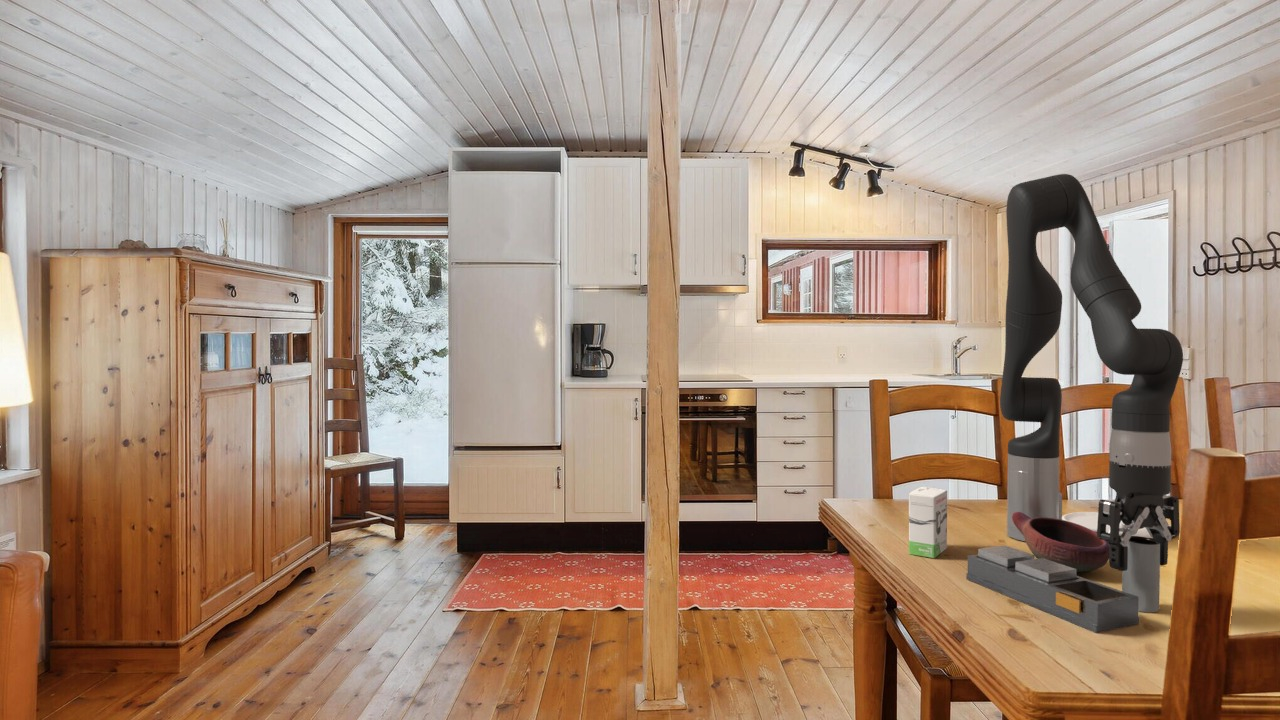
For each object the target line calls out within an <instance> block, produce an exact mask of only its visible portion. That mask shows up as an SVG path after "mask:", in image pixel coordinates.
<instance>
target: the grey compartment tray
mask: <svg viewBox="0 0 1280 720" xmlns="http://www.w3.org/2000/svg"><path fill="white" fill-rule="evenodd" d="M977 550H978V552H977V553H976V554H971V555H967V572H966V575H965V576H966V580H968V581H970V582H972V583H975V584H977V585H979V586H982V587H985V588H986V589H989V590H991V591H993V592H996V593H999V594H1002V595H1003V596H1006V597H1008V598H1010V599H1014V600H1015V601H1018V602H1021V603H1022V604H1025V603H1026V604H1025V605H1027V604H1028V606H1029V607H1033V608H1034V609H1037V610H1040V611H1042V612H1045V613H1046V614H1050V615H1052V616H1054V617H1057V618H1059V619H1061V620H1064V621H1066V622H1069V623H1071V624H1074V625H1076V626H1079V627H1080V628H1083V629H1085V630H1089V631H1090V632H1092V633H1095V634H1098V633H1102V632H1103V633H1104V632H1107V631H1113V630H1117V629H1122V628H1128V627H1133V626H1138V625H1140V616H1139V611H1138V596H1135V595H1132V594H1129V593H1126V592H1123V591H1122V590H1120V589H1117V588H1114V587H1110V586H1108V585H1105V584H1101V583H1099V582H1096V581H1094V580H1091V579H1088V578H1084V577H1083V576H1082V577H1081V576H1079V575H1077V572H1076V571H1077V569H1074V568H1071V567H1068V566H1065V565H1062V564H1059V563H1056V562H1053V561H1050V560H1047V559H1044V558H1039V559H1038V558H1035V556H1034V554H1033V553H1028V552H1025V551H1023V550H1019V549H1017V548H1014V547H1010V546H1007V545H1005V544H1004V545H997V546H990V547H982V548H978V549H977Z"/></svg>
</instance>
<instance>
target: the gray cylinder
mask: <svg viewBox="0 0 1280 720" xmlns="http://www.w3.org/2000/svg"><path fill="white" fill-rule="evenodd" d="M1126 546H1127V547H1128V568H1127V570H1126V571H1121V572H1122V575H1121V576H1122V577H1121V579H1122V581H1121V582H1122V583H1121V584H1122V585H1121V591H1123V592H1126V593H1129V594H1132V595H1135V596H1138V612H1141V613H1157V612H1159V611H1160V593H1161V591H1160V589H1161V588H1160V579H1161V578H1160V577H1161V565H1160V542H1159V541H1157V540H1154V539H1151V538H1146V537H1140V536H1131V537H1130V539H1129V541H1128V543H1127V545H1126Z"/></svg>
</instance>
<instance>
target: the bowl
mask: <svg viewBox="0 0 1280 720" xmlns="http://www.w3.org/2000/svg"><path fill="white" fill-rule="evenodd" d="M1012 520H1013V523H1014V524H1015V526H1016V527H1017V528H1018V529H1019V531H1020V532H1021V533H1022V534H1023V536H1024V538H1025V541H1024V542H1025V543H1026V545H1027V547H1028V549H1029V550H1030V552H1031V554H1032V555H1034V558H1035V557H1036V559H1039V558H1044V559H1047V560H1050V561H1053V562H1056V563H1059V564H1062V565H1065V566H1068V567H1071V568H1074V569H1077V571H1076V573H1083V572H1091V571H1095V570H1098V569H1100V568H1103V567H1104V566H1105V565H1106V564H1107V563H1108V562H1109V543H1108V542H1107V541H1104V540H1101V539H1098V538H1097V533H1096V532H1094V531H1092V530H1090V529H1088V528H1086V527H1084V526H1081V525H1079V524H1075V523H1072V522H1069V521H1065V520H1061V519H1056V518H1047V517H1037V518H1032V519H1031V518H1030V517H1028V516H1027V515H1025V514H1024V513H1021V512H1015V513H1013V515H1012Z"/></svg>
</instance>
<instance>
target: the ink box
mask: <svg viewBox="0 0 1280 720" xmlns="http://www.w3.org/2000/svg"><path fill="white" fill-rule="evenodd" d="M947 547H948V490H947V489H940V488H935V487H928V486H920V487H918V488H916V489H914V490H912V491H910V492H909V494H908V554H909V555H913V556H919V557H925V558H931V559H935V558H937V557H938V556H939V555H940V554H941V553H943V552H944V551H945V550H946V549H947Z"/></svg>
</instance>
